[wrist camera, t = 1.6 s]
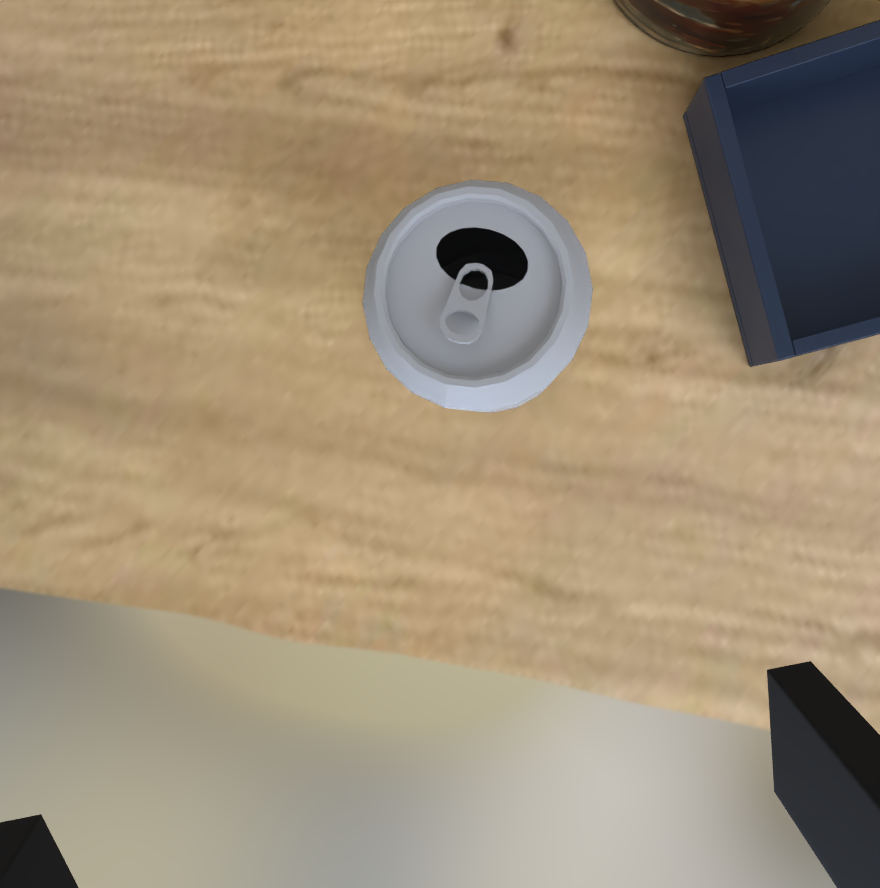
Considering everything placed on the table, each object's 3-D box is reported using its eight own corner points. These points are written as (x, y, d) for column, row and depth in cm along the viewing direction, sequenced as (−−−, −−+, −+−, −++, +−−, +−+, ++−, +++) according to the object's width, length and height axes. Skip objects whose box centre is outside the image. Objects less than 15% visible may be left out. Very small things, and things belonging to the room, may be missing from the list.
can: (588, 277, 31) (631, 192, 19) (543, 431, 31) (557, 440, 20) (436, 238, 32) (385, 133, 20) (395, 389, 32) (321, 374, 20)
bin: (749, 367, 30) (778, 361, 27) (682, 116, 30) (703, 77, 27) (1026, 292, 29) (1096, 275, 25) (957, 27, 29) (1018, -27, 25)
